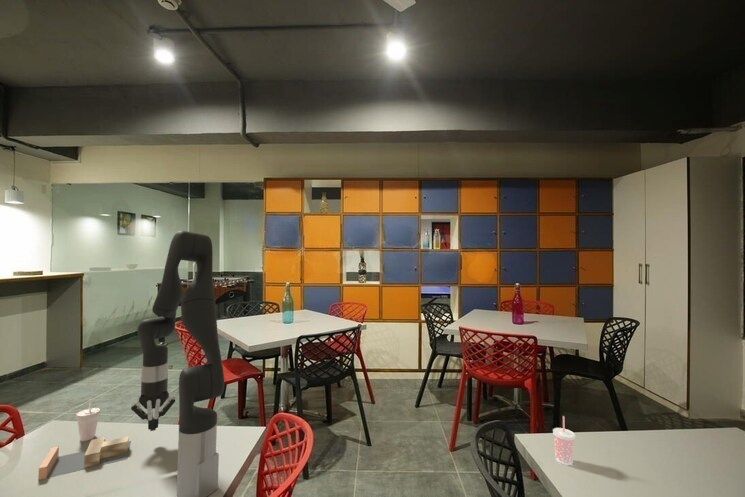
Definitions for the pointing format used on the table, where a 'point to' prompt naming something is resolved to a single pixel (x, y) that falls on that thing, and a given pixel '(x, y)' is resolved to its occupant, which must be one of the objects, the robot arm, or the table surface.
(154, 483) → the table surface
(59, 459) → the mat
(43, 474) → the rail
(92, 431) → the smoothie
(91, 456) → the t block
